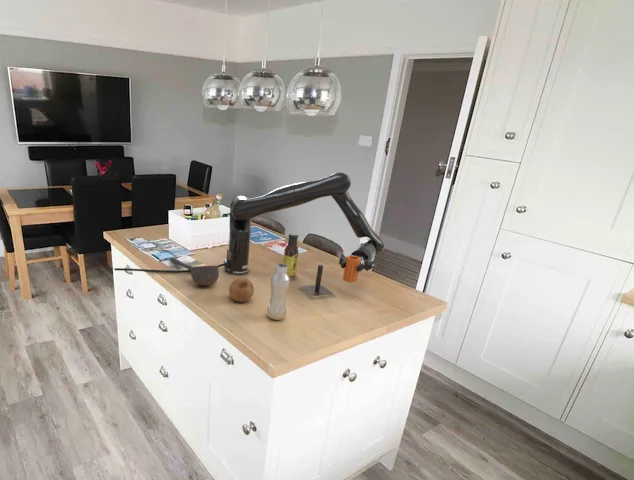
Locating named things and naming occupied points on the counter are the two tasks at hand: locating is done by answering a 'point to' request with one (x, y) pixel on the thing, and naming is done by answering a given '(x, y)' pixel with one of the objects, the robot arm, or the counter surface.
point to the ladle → (201, 273)
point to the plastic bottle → (278, 293)
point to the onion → (241, 290)
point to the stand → (317, 285)
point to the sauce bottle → (291, 255)
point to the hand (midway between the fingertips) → (350, 267)
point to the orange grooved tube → (351, 268)
